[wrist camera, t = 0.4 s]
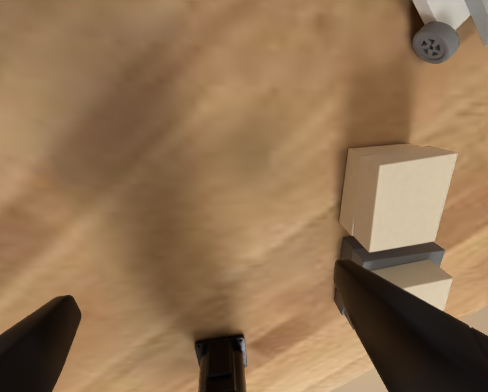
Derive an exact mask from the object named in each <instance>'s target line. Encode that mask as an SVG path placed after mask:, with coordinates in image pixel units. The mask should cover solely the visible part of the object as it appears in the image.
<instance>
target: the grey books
mask: <svg viewBox="0 0 488 392" xmlns="http://www.w3.org/2000/svg"><path fill="white" fill-rule="evenodd" d="M444 252H445V250H444V249H443V248H441V247H440V246H438V245H437V244H435V243H434V242H428V243H422V244H416V245H410V246H405V247H399V248H393V249H387V250H382V251H376V252H370V253H369V252H368V251H367V250H366V249H365V248H364V247H363V246H362V245H361V243H360V242H359V241H358V240H357V239H356V238H355V237H354V236H351V237H344V238H343V245H342V252H341V259H345V258H347V259H350V260H352V261H354V262H356V263H357V264H359V265H361V266H363V267H365V268H366V269H368V270H370V271H373V270H378V269H383V268H387V267H392V266H397V265H402V264H407V263H412V262H417V261H422V260H427V259H430V260H431V261H432V262H433V263H435V264H436V265H437V266H438V267H440V264H441V261H442V258H443V255H444ZM334 302H335V304H336V305H337V307H338V309H339V311H340V313H341V314H342V315H345V316H346V318H347V320H348V321H349V323H350V325H351V327H352V328H353V330H354V327H353V325H352V323H351V321H350V319H349V316H348V314H347V312H346V309H345V307H344V304H343V302H342V300H341V297H340V295H339V293H338V290H337V288H336V294H335V301H334Z"/></svg>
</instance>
